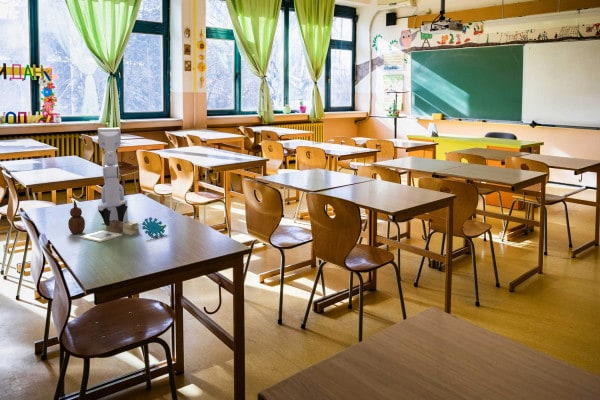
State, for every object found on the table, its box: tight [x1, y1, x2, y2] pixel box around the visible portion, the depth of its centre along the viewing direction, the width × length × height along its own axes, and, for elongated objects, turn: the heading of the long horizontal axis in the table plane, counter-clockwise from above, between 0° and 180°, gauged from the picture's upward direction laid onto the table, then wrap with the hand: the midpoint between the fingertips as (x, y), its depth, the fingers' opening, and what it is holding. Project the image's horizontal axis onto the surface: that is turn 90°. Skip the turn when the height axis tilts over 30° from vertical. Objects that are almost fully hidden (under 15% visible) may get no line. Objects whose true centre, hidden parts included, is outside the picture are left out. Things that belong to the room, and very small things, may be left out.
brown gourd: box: [67, 200, 86, 235], centre depth 238 cm, size 7×6×15 cm
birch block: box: [122, 220, 140, 236], centre depth 241 cm, size 4×4×4 cm
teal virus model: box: [141, 216, 167, 239], centre depth 238 cm, size 11×6×10 cm
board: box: [79, 229, 123, 243], centre depth 235 cm, size 12×12×1 cm
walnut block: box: [106, 220, 123, 233], centre depth 243 cm, size 4×4×4 cm
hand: (114, 223), depth 242 cm, fingers open, 7 cm apart
